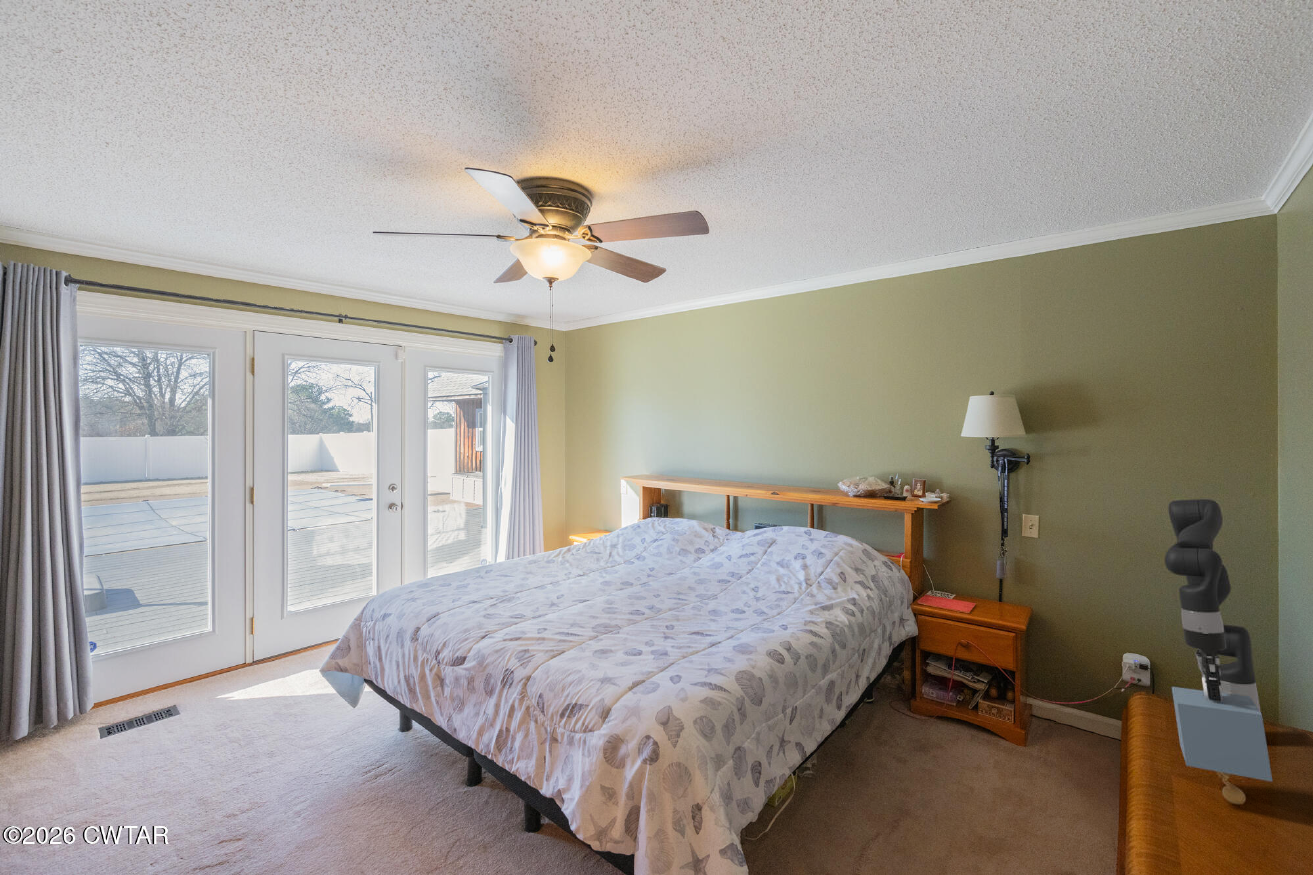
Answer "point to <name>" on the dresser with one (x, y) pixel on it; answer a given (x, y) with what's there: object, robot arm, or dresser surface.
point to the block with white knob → (1221, 733)
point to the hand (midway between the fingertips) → (1213, 697)
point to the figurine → (1231, 790)
